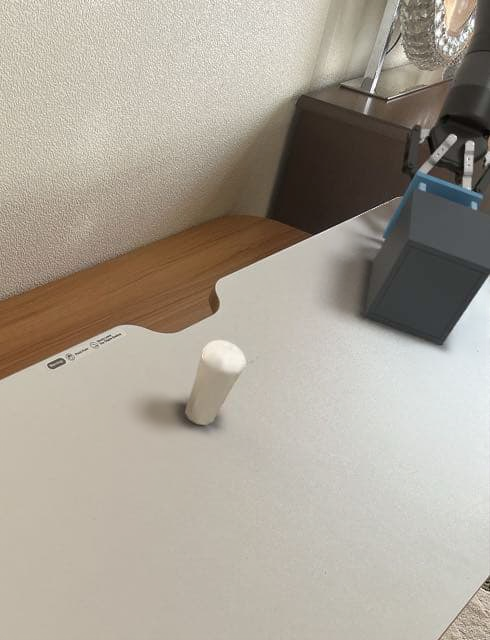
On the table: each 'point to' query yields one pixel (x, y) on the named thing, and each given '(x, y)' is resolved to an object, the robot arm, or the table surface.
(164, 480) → the table surface
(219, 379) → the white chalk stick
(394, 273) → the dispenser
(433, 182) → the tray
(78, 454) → the table surface
